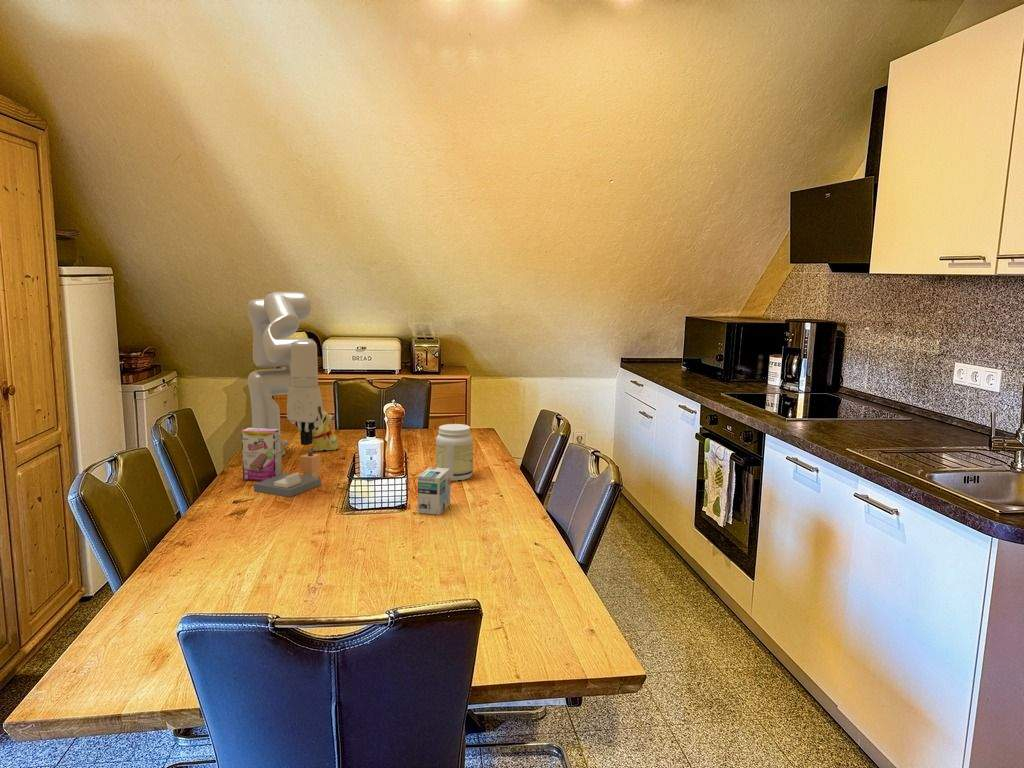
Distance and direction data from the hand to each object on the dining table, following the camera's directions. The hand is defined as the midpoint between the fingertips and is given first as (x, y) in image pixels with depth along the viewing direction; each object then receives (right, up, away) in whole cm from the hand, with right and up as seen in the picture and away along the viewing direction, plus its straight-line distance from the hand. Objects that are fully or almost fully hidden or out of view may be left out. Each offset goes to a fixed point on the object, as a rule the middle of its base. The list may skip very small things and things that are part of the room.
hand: (306, 444), depth 202 cm
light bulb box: (+39, -18, -7) cm, 43 cm away
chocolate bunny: (-10, -8, +56) cm, 58 cm away
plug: (-5, -13, +21) cm, 25 cm away
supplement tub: (+42, -13, +25) cm, 50 cm away
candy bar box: (-19, -13, +18) cm, 30 cm away
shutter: (-7, -13, +5) cm, 16 cm away
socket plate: (-8, -14, +9) cm, 19 cm away
